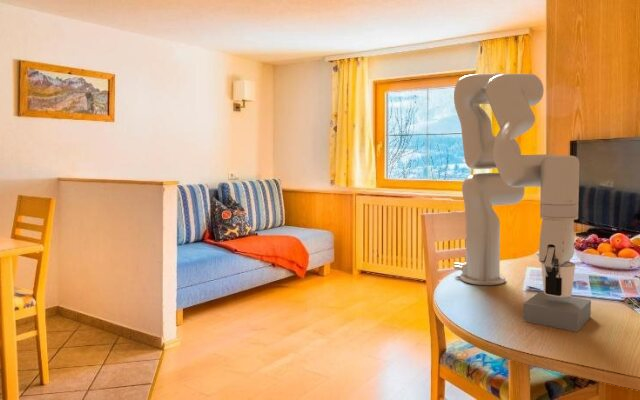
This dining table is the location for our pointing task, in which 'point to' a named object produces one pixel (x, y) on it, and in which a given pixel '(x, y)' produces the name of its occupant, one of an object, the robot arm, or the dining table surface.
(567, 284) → the white cup
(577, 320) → the slate plinth
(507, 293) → the dining table surface
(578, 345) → the dining table surface
